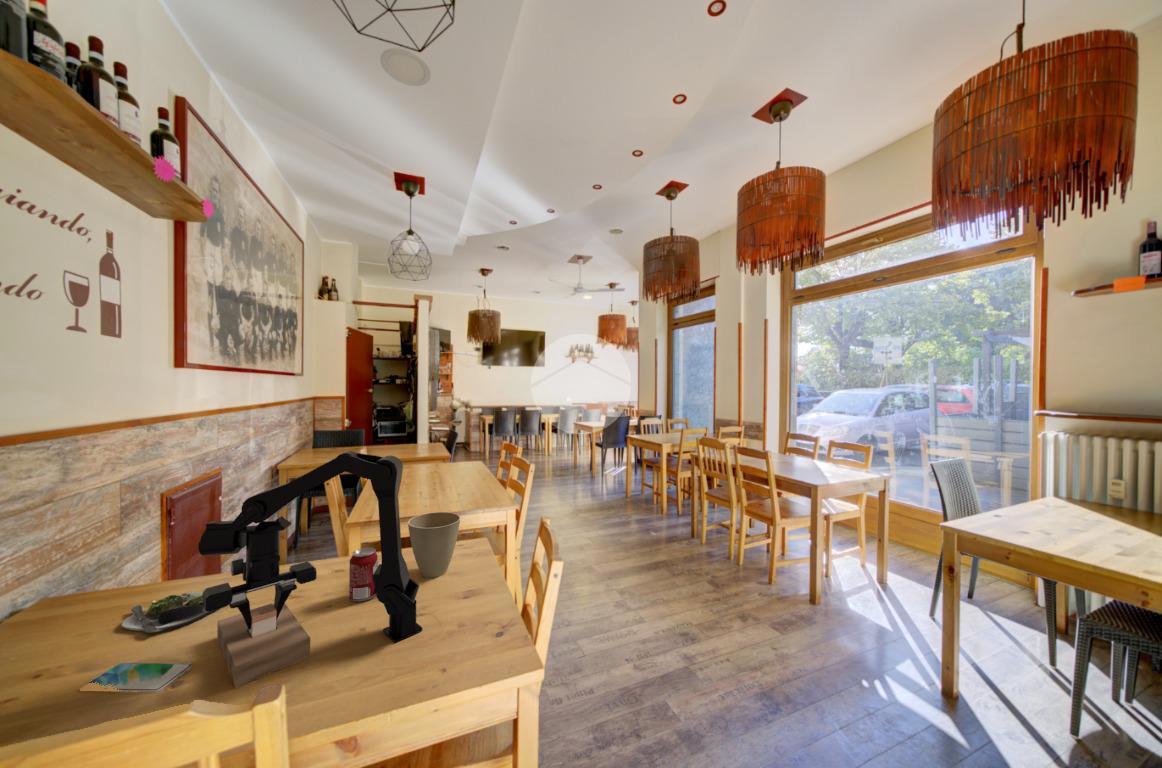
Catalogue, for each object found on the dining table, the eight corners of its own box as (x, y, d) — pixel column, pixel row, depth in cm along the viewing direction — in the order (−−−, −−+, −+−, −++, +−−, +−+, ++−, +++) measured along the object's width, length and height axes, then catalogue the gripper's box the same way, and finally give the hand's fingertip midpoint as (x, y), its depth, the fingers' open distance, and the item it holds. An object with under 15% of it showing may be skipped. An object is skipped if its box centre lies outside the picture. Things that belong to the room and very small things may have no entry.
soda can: (369, 603, 107) (370, 556, 107) (343, 603, 107) (344, 556, 107) (382, 590, 114) (383, 546, 114) (358, 590, 114) (358, 546, 114)
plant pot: (395, 578, 121) (396, 523, 121) (432, 558, 135) (433, 509, 135) (435, 588, 115) (436, 530, 115) (470, 566, 129) (470, 515, 129)
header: (310, 657, 86) (310, 637, 86) (234, 688, 77) (235, 666, 77) (282, 617, 100) (283, 600, 100) (217, 639, 92) (217, 621, 92)
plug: (276, 646, 89) (276, 610, 89) (252, 655, 86) (252, 617, 86) (271, 638, 91) (272, 603, 91) (248, 647, 88) (248, 610, 88)
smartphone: (157, 690, 76) (76, 689, 76) (157, 695, 76) (76, 694, 76) (194, 663, 83) (120, 662, 83) (194, 667, 83) (120, 666, 83)
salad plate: (90, 634, 94) (90, 613, 94) (177, 595, 112) (177, 577, 112) (161, 642, 91) (161, 621, 91) (239, 600, 109) (240, 583, 109)
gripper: (303, 531, 101) (302, 595, 101) (199, 553, 87) (198, 628, 87) (317, 542, 94) (316, 612, 93) (206, 569, 80) (205, 650, 80)
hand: (262, 624), depth 89 cm, fingers closed on plug, 4 cm apart
